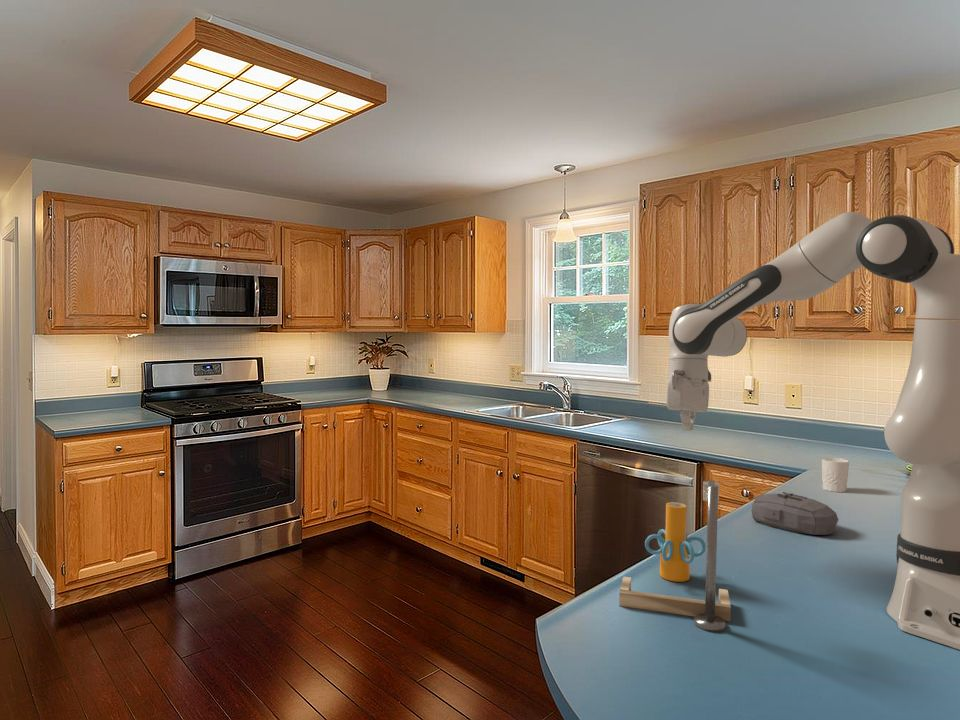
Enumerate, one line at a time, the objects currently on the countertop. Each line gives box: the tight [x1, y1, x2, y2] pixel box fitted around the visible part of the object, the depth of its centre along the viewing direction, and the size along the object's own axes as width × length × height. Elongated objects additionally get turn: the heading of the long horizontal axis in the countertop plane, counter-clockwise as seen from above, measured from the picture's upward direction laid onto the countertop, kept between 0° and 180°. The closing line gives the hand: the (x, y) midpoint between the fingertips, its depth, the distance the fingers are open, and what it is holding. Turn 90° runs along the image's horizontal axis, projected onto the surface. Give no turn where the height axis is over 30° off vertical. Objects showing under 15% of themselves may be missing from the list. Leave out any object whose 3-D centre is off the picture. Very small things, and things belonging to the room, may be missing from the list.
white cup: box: [821, 457, 850, 493], centre depth 203 cm, size 8×8×10 cm
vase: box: [644, 501, 707, 583], centre depth 127 cm, size 12×10×15 cm
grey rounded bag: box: [751, 491, 839, 536], centre depth 163 cm, size 15×8×20 cm
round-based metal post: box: [693, 479, 726, 633], centre depth 108 cm, size 11×5×24 cm, turn 162°
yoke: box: [618, 576, 732, 622], centre depth 114 cm, size 8×19×2 cm, turn 72°
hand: (688, 430), depth 146 cm, fingers closed
